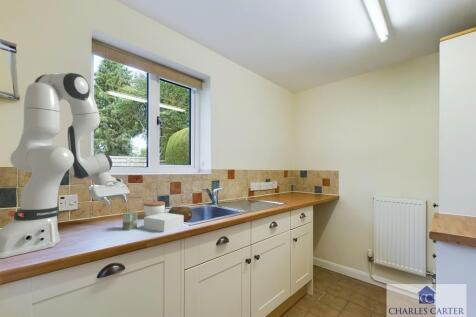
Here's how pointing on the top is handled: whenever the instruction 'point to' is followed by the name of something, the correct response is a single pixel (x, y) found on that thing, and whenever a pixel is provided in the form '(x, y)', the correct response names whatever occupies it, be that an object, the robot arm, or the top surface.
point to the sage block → (130, 220)
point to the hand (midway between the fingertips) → (118, 203)
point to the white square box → (163, 221)
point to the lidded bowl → (154, 207)
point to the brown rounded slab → (182, 212)
